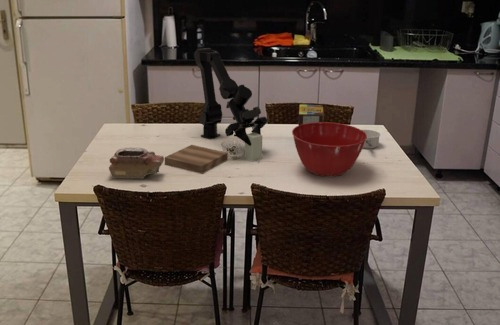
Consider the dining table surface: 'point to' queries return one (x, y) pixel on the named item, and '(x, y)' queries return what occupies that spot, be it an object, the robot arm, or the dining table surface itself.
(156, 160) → the decorative box
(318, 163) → the mixing bowl
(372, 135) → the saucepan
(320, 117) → the protein box
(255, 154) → the sage block
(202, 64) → the robot arm
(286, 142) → the dining table surface
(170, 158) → the walnut base
